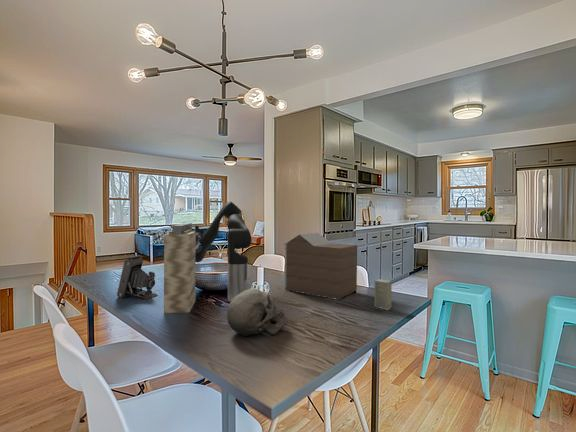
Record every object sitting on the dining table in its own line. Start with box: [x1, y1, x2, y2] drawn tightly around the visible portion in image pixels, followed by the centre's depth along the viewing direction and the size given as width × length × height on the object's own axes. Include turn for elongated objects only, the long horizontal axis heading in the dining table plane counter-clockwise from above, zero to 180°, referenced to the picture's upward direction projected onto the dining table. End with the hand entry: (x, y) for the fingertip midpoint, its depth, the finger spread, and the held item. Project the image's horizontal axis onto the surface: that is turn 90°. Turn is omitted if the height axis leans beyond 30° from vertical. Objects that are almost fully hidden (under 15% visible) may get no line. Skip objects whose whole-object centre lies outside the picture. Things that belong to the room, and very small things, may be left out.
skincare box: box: [373, 278, 393, 309], centre depth 139 cm, size 6×4×12 cm
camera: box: [116, 254, 159, 301], centre depth 153 cm, size 11×17×20 cm, turn 79°
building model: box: [283, 232, 358, 300], centre depth 168 cm, size 19×34×30 cm, turn 54°
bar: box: [172, 222, 193, 234], centre depth 141 cm, size 4×26×4 cm, turn 8°
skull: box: [226, 287, 288, 337], centre depth 109 cm, size 13×16×20 cm
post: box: [163, 228, 196, 314], centre depth 137 cm, size 10×16×33 cm, turn 8°
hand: (186, 226), depth 150 cm, fingers open, 8 cm apart
